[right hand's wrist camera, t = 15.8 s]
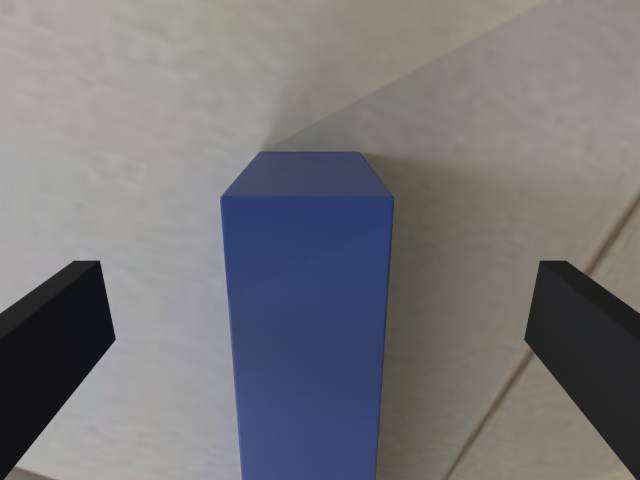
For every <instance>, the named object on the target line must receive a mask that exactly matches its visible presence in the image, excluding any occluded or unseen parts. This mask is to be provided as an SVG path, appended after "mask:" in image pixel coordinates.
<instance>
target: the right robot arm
mask: <svg viewBox="0 0 640 480" xmlns="http://www.w3.org/2000/svg"><path fill="white" fill-rule="evenodd" d="M115 340H116V338H115V333H114V328H113V323H112V318H111V313H110V308H109V304H108V299H107V294H106V289H105V284H104V279H103V274H102V269H101V264H100V261H73V262H72V263H70V264H69V265H67V266H66V267H65V268H63V269H62V270H61V271H59V272H58V273H56V274H55V275H54V276H52V277H51V278H49V279H48V280H47V281H45V282H44V283H42V284H41V285H40V286H38V287H37V288H35V289H34V290H33V291H31V292H30V293H28V294H27V295H26V296H24V297H23V298H21V299H20V300H19V301H17V302H16V303H14V304H13V305H12V306H10V307H9V308H8V309H6V310H5V311H3V312H2V313H1V314H0V480H4V479H5V477H6V476H7V475H8V474H9V472H10V471H11V470H12V469H13V467H14V466H15V465H16V464H17V462H18V461H19V460H20V459H21V457H22V456H23V455H24V454H25V452H26V451H27V450H28V449H29V447H30V446H31V445H32V444H33V442H34V441H35V440H36V439H37V437H38V436H39V435H40V434H41V432H42V431H43V430H44V429H45V427H46V426H47V425H48V424H49V422H50V421H51V420H52V419H53V417H54V416H55V415H56V414H57V412H58V411H59V410H60V409H61V407H62V406H63V405H64V404H65V402H66V401H67V400H68V399H69V397H70V396H71V395H72V394H73V392H74V391H75V390H76V389H77V387H78V386H79V385H80V384H81V382H82V381H83V380H84V379H85V377H86V376H87V375H88V374H89V372H90V371H91V370H92V369H93V367H94V366H95V365H96V364H97V362H98V361H99V360H100V359H101V357H102V356H103V355H104V354H105V352H106V351H107V350H108V349H109V347H110V346H111V345H112V344H113V342H114V341H115ZM524 340H525V341H526V342H527V344H528V345H529V346H530V347H531V349H532V350H533V351H534V352H535V354H536V355H537V356H538V357H539V359H540V360H541V361H542V362H543V364H544V365H545V366H546V367H547V369H548V370H549V371H550V372H551V374H552V375H553V376H554V377H555V379H556V380H557V381H558V382H559V384H560V385H561V386H562V387H563V389H564V390H565V391H566V392H567V394H568V395H569V396H570V397H571V399H572V400H573V401H574V402H575V404H576V405H577V406H578V407H579V409H580V410H581V411H582V412H583V414H584V415H585V416H586V417H587V419H588V420H589V421H590V422H591V424H592V425H593V426H594V427H595V429H596V430H597V431H598V432H599V434H600V435H601V436H602V437H603V439H604V440H605V441H606V442H607V444H608V445H609V446H610V447H611V449H612V450H613V451H614V452H615V454H616V455H617V456H618V457H619V459H620V460H621V461H622V462H623V464H624V465H625V466H626V467H627V469H628V470H629V471H630V472H631V474H632V475H633V476H634V477H635V479H636V480H640V314H639V313H638V312H637V311H635V310H634V309H632V308H631V307H630V306H628V305H627V304H626V303H624V302H623V301H621V300H620V299H619V298H617V297H616V296H614V295H613V294H612V293H610V292H609V291H607V290H606V289H605V288H603V287H602V286H600V285H599V284H598V283H596V282H595V281H593V280H592V279H591V278H589V277H588V276H586V275H585V274H584V273H582V272H581V271H579V270H578V269H577V268H575V267H574V266H573V265H571V264H570V263H568V262H567V261H540V264H539V269H538V274H537V279H536V284H535V289H534V294H533V299H532V304H531V308H530V313H529V318H528V323H527V328H526V333H525V338H524Z"/></svg>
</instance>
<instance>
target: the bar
mask: <svg viewBox="0 0 640 480" xmlns="http://www.w3.org/2000/svg"><path fill="white" fill-rule="evenodd" d="M220 204H221V217H222V229H223V242H224V255H225V268H226V280H227V293H228V306H229V319H230V331H231V344H232V357H233V370H234V382H235V395H236V408H237V421H238V433H239V446H240V459H241V472H242V480H375V479H376V464H377V449H378V434H379V419H380V404H381V389H382V374H383V359H384V344H385V329H386V314H387V299H388V284H389V269H390V254H391V239H392V224H393V209H394V197H393V196H392V194H391V193H390V192H389V190H388V189H387V188H386V186H385V185H384V184H383V183H382V181H381V180H380V179H379V177H378V176H377V175H376V173H375V172H374V171H373V169H372V168H371V167H370V165H369V164H368V163H367V162H366V160H365V159H364V158H363V156H362V155H361V154H360V152H259V153H258V154H257V156H256V157H255V158H254V159H253V160H252V161H251V162H250V164H249V165H248V166H247V167H246V168H245V169H244V171H243V172H242V173H241V174H240V175H239V176H238V178H237V179H236V180H235V181H234V182H233V183H232V184H231V186H230V187H229V188H228V189H227V190H226V191H225V193H224V194H223V195H222V196H221V198H220Z"/></svg>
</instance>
